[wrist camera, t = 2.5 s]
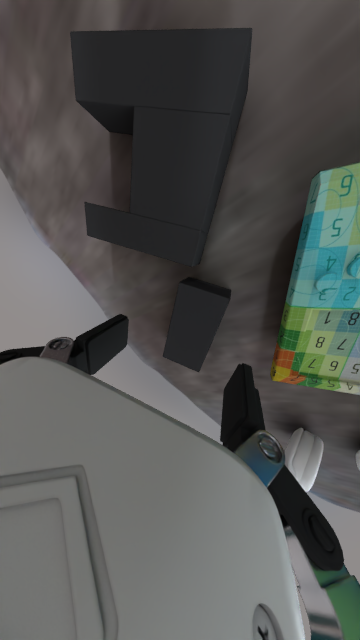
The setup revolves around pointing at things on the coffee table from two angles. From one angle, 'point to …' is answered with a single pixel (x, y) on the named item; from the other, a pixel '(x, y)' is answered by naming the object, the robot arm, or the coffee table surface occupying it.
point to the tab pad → (195, 321)
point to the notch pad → (165, 128)
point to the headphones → (305, 457)
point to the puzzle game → (324, 289)
